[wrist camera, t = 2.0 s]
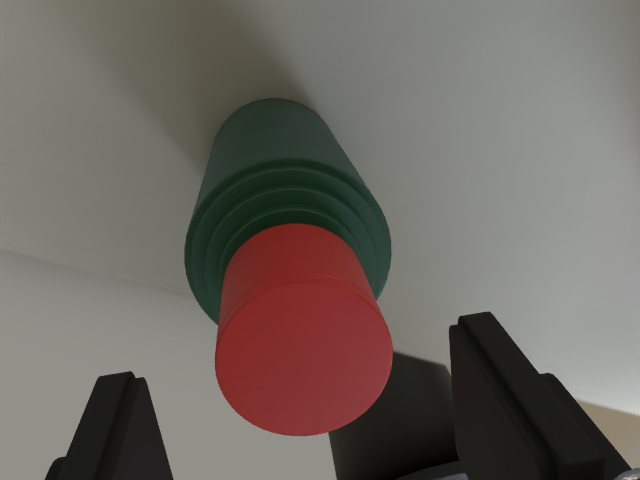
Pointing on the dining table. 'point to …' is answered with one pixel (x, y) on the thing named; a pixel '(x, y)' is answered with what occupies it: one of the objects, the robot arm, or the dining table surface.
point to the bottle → (279, 195)
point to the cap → (300, 333)
